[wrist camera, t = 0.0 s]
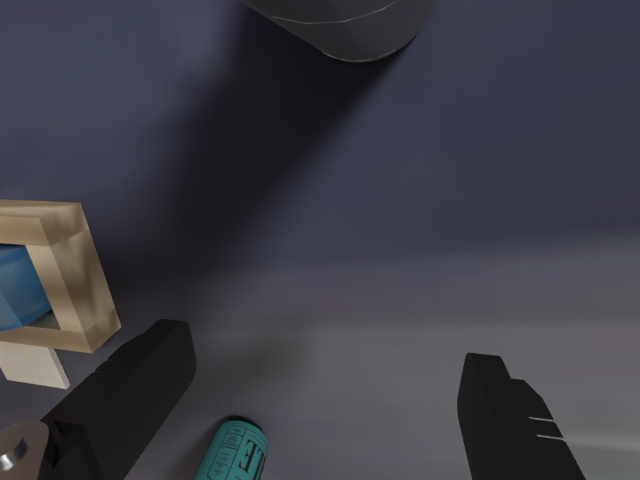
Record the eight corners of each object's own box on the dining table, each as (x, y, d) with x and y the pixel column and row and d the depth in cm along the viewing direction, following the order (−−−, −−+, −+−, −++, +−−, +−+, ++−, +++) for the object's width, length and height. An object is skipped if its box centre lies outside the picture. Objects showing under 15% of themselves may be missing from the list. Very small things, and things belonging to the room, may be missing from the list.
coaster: (-19, 320, 40) (-24, 323, 39) (44, 328, 38) (39, 331, 38) (11, 376, 43) (7, 379, 43) (70, 385, 42) (66, 388, 41)
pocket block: (-43, 197, 32) (-97, 211, 29) (80, 202, 30) (38, 218, 26) (14, 314, 38) (-24, 338, 34) (121, 326, 36) (92, 353, 32)
